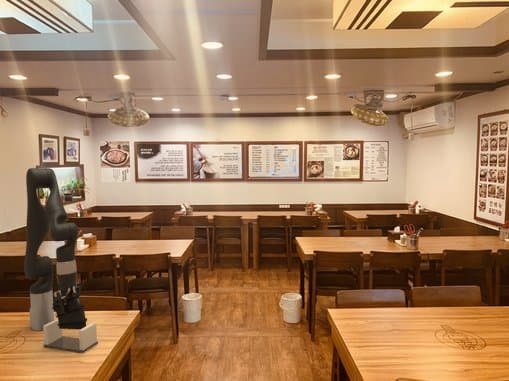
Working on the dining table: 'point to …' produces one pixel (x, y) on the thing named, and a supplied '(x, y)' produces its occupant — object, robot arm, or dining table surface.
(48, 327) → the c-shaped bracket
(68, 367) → the dining table surface
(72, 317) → the magazine
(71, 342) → the rail plate
